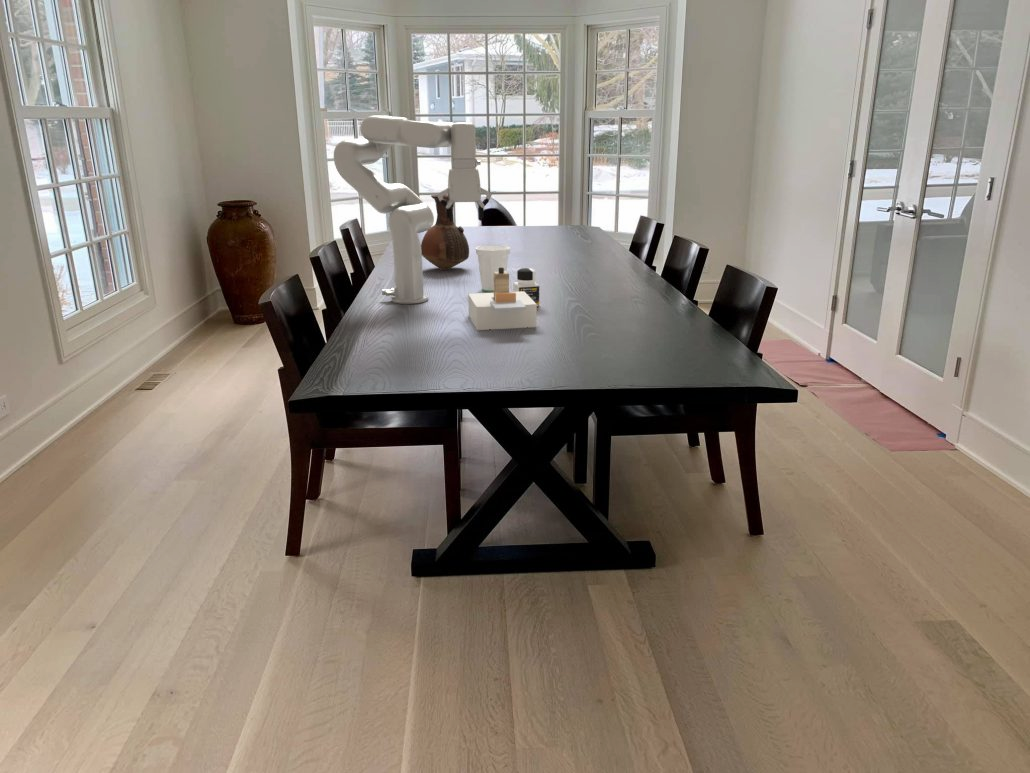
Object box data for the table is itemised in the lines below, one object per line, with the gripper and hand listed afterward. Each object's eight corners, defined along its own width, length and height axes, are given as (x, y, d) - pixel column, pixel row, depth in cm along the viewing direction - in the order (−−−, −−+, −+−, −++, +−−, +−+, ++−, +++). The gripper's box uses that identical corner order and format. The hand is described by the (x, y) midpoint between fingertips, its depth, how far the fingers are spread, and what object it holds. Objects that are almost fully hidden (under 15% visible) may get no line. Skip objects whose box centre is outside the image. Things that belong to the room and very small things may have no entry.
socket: (477, 330, 222) (476, 307, 220) (468, 315, 238) (468, 293, 236) (536, 327, 225) (536, 304, 223) (524, 312, 242) (524, 291, 239)
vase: (470, 275, 300) (468, 198, 290) (420, 275, 298) (416, 198, 288) (468, 263, 323) (467, 192, 313) (422, 264, 322) (419, 192, 311)
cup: (469, 291, 272) (469, 248, 267) (487, 284, 282) (486, 244, 277) (500, 294, 266) (499, 251, 261) (516, 288, 277) (516, 246, 272)
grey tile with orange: (495, 310, 215) (495, 300, 214) (490, 303, 223) (490, 293, 222) (526, 309, 216) (526, 298, 215) (519, 302, 225) (519, 291, 224)
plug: (493, 310, 232) (493, 267, 228) (506, 309, 233) (506, 266, 228) (496, 313, 229) (495, 269, 224) (509, 312, 229) (509, 268, 225)
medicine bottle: (518, 307, 248) (518, 271, 244) (513, 302, 255) (513, 267, 251) (539, 306, 250) (539, 270, 246) (533, 301, 257) (533, 266, 253)
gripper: (489, 163, 239) (490, 218, 244) (434, 164, 235) (436, 219, 241) (493, 165, 232) (493, 221, 237) (437, 165, 229) (439, 222, 234)
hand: (465, 220), depth 239 cm, fingers open, 9 cm apart
